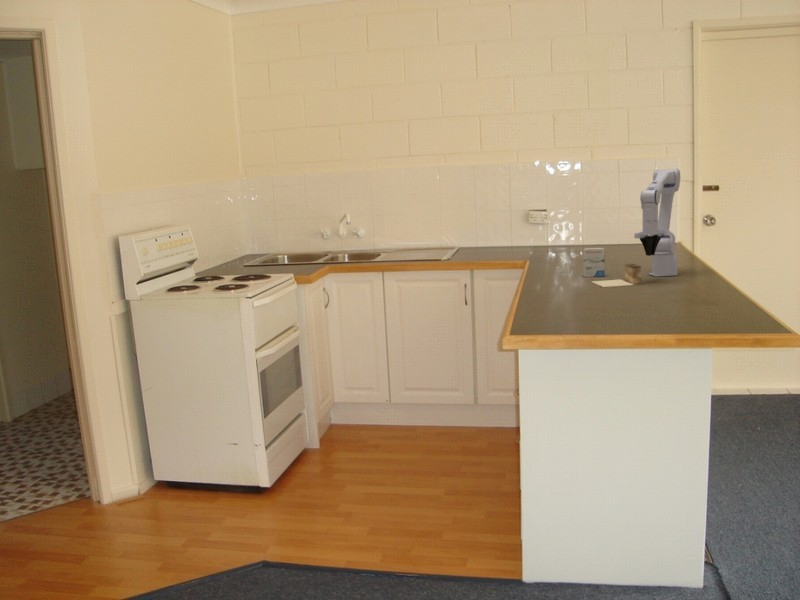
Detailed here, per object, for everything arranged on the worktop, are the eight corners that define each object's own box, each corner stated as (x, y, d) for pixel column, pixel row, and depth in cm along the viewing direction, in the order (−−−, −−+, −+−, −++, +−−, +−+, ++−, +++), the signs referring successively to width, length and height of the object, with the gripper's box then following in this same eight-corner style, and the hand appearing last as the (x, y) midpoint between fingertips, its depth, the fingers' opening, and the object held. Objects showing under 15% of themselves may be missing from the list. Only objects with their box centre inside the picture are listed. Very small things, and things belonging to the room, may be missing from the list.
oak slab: (633, 280, 307) (633, 263, 306) (641, 283, 299) (641, 266, 298) (625, 281, 307) (624, 264, 306) (632, 284, 299) (632, 266, 298)
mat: (620, 280, 310) (620, 279, 310) (633, 285, 296) (633, 284, 296) (591, 282, 309) (591, 281, 309) (603, 287, 295) (603, 286, 295)
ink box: (604, 274, 326) (604, 247, 324) (604, 276, 322) (604, 248, 320) (584, 275, 329) (583, 247, 327) (583, 277, 324) (583, 249, 322)
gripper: (656, 218, 306) (656, 252, 308) (628, 221, 300) (628, 256, 302) (669, 219, 300) (669, 253, 302) (641, 222, 293) (641, 257, 296)
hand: (650, 255), depth 302 cm, fingers closed
